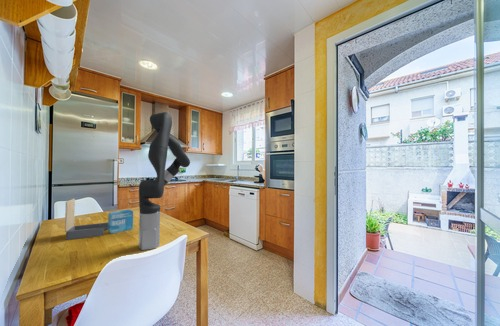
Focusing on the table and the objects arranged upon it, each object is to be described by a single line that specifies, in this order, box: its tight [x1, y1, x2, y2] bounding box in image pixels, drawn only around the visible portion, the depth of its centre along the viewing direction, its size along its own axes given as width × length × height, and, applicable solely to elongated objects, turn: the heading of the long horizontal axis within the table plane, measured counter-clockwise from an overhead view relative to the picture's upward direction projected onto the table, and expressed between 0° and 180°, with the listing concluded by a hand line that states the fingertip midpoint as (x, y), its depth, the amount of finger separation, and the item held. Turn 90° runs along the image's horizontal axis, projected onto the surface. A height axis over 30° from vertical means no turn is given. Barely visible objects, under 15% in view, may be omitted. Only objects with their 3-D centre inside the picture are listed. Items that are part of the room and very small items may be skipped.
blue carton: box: [107, 209, 134, 234], centre depth 114 cm, size 12×4×12 cm, turn 139°
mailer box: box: [64, 198, 108, 241], centre depth 107 cm, size 10×17×20 cm, turn 116°
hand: (143, 197), depth 120 cm, fingers closed
